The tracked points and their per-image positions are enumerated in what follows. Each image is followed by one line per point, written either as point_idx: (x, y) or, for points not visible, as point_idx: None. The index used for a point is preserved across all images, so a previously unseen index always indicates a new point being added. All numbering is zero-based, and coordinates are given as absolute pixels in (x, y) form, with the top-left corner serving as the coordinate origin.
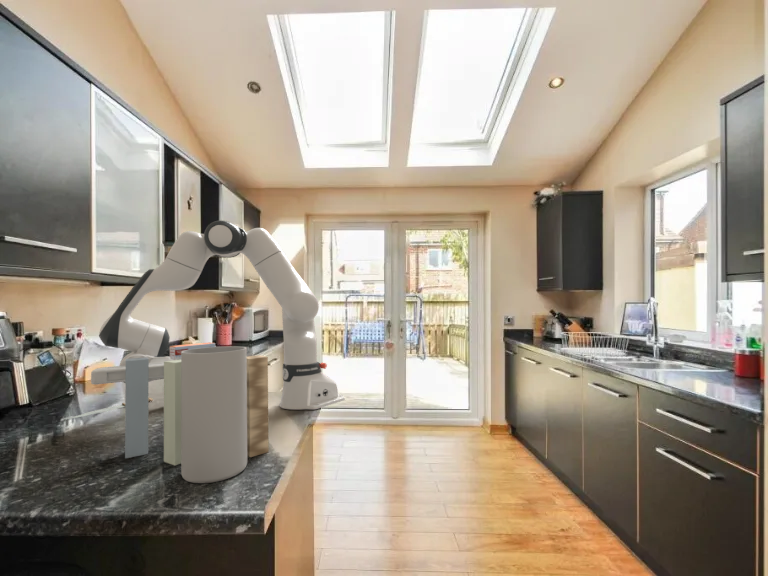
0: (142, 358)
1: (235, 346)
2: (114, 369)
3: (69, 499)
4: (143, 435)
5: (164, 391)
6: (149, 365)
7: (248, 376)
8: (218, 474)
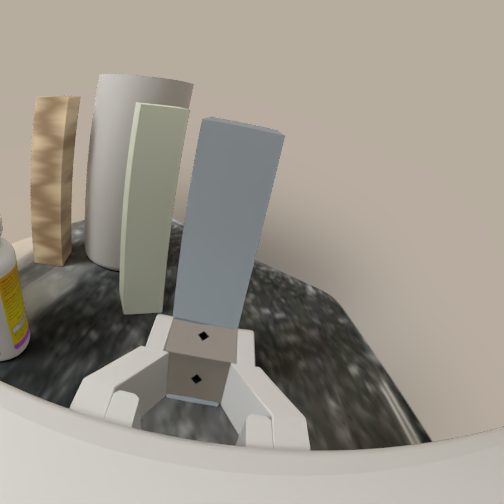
0: (226, 121)
1: (101, 74)
2: (428, 447)
3: (284, 292)
4: None
5: (177, 178)
6: (4, 447)
7: (75, 127)
8: None
